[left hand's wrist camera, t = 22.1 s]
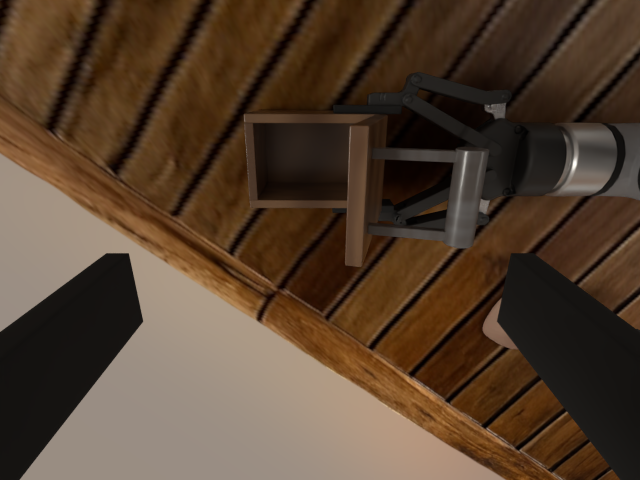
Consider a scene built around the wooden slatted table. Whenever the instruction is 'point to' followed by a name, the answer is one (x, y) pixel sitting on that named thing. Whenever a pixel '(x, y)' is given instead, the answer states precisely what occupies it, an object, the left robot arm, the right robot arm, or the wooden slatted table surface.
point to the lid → (368, 190)
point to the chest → (298, 157)
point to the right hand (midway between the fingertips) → (333, 159)
